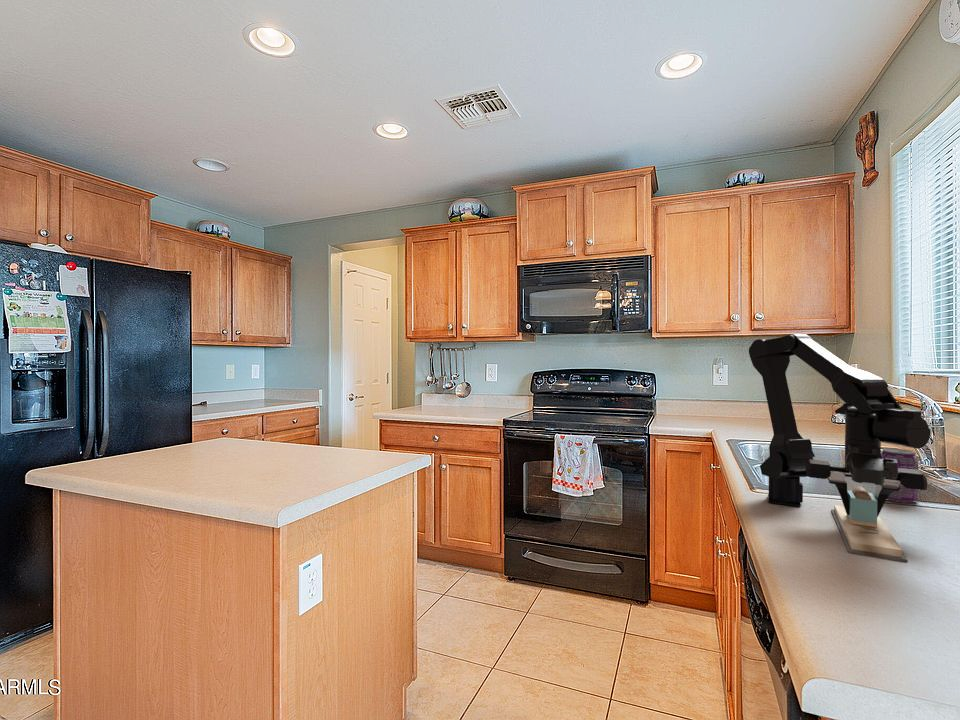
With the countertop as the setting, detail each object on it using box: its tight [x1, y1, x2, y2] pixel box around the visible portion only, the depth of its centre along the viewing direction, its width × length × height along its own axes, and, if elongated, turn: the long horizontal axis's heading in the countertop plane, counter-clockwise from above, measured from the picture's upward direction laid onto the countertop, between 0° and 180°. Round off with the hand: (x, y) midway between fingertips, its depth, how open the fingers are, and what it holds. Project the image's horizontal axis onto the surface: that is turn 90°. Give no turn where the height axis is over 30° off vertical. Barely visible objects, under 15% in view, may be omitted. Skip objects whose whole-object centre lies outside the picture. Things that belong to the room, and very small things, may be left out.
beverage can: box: [881, 447, 919, 503], centre depth 119 cm, size 7×7×12 cm
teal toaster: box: [847, 485, 877, 527], centre depth 99 cm, size 4×7×6 cm, turn 149°
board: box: [831, 504, 908, 563], centre depth 97 cm, size 8×27×2 cm, turn 150°
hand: (861, 516), depth 99 cm, fingers closed on teal toaster, 4 cm apart
